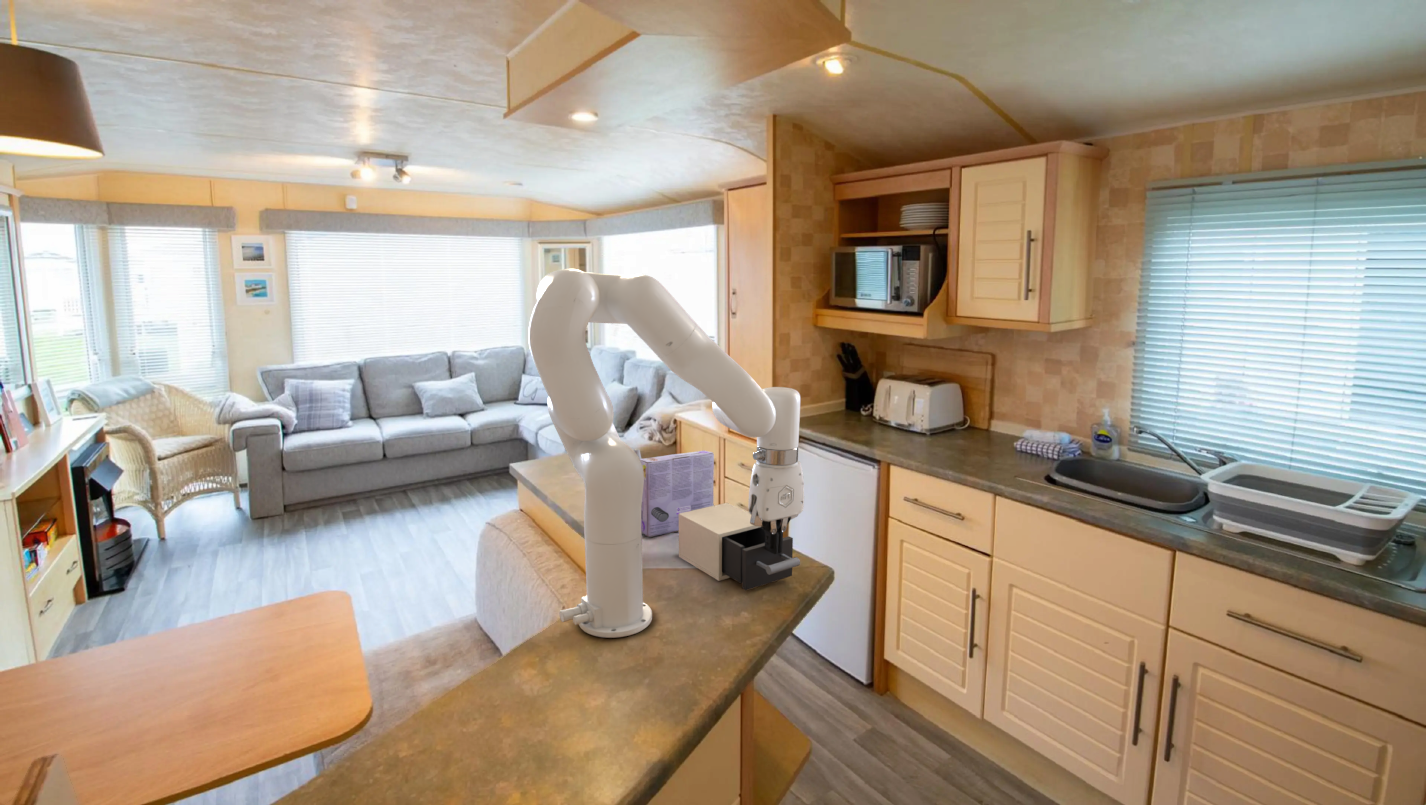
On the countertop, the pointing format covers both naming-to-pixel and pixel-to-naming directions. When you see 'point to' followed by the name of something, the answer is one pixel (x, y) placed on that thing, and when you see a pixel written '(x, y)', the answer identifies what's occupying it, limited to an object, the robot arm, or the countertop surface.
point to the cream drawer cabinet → (710, 535)
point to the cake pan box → (675, 489)
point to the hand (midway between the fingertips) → (773, 550)
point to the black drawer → (756, 559)
